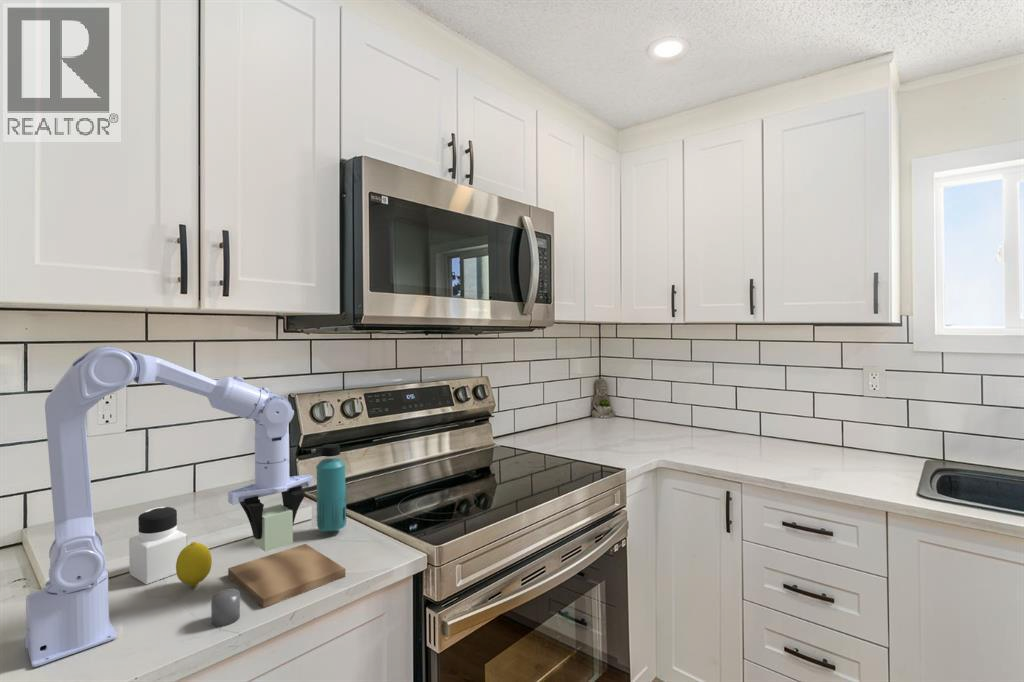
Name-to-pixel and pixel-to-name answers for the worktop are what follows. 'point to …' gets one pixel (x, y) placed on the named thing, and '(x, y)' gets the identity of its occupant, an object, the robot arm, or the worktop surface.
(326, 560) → the walnut board
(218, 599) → the charcoal canister
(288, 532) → the sage block
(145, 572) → the medicine bottle
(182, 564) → the lemon
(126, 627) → the worktop surface
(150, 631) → the worktop surface
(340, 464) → the beverage bottle
